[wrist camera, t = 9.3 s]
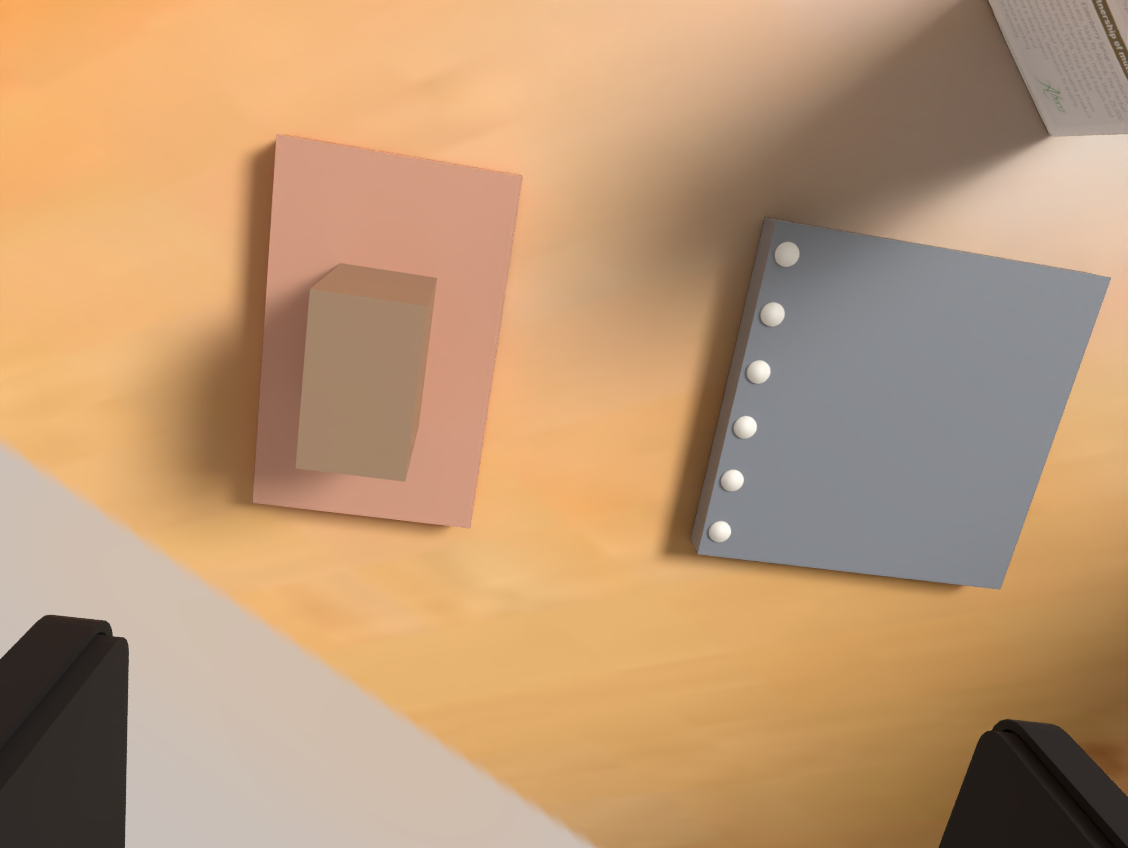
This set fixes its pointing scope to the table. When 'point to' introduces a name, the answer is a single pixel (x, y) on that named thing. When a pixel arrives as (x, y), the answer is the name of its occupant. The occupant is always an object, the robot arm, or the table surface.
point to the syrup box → (1071, 61)
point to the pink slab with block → (380, 331)
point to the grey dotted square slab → (890, 405)
